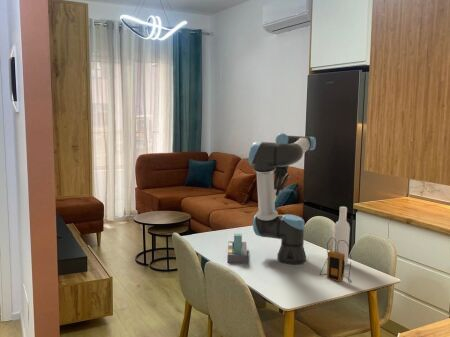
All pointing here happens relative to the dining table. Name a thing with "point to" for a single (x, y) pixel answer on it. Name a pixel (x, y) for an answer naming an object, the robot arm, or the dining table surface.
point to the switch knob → (237, 244)
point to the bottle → (342, 234)
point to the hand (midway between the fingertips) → (273, 200)
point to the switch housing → (234, 257)
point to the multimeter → (336, 264)
